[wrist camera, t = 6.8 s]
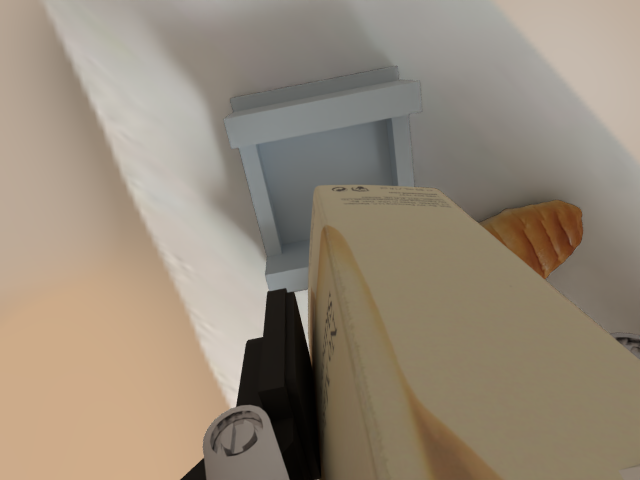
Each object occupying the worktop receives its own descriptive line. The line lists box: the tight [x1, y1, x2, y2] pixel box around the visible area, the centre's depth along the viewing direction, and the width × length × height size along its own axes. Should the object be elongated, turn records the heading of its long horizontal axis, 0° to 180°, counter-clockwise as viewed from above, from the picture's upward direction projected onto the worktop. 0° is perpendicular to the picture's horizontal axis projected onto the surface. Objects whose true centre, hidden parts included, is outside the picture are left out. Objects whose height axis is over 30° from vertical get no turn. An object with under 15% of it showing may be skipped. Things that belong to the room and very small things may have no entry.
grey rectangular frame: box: [223, 66, 422, 292], centre depth 24 cm, size 10×12×5 cm
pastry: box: [479, 200, 583, 279], centre depth 28 cm, size 9×7×4 cm
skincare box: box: [308, 185, 640, 480], centre depth 9 cm, size 6×4×12 cm
